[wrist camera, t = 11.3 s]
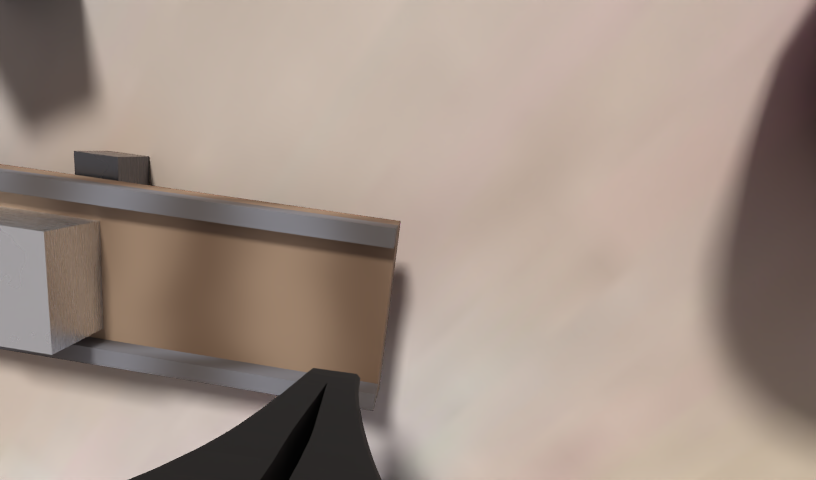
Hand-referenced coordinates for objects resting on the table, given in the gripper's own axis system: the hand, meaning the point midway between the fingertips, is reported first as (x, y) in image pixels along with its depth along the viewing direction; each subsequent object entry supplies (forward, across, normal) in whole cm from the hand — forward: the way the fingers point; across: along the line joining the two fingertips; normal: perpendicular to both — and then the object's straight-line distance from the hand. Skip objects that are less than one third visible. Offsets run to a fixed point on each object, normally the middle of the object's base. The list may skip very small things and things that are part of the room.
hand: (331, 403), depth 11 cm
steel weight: (+7, +16, 0) cm, 17 cm away
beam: (+7, +13, 0) cm, 15 cm away
